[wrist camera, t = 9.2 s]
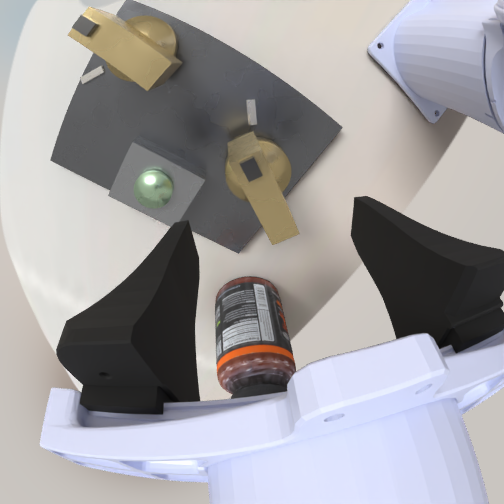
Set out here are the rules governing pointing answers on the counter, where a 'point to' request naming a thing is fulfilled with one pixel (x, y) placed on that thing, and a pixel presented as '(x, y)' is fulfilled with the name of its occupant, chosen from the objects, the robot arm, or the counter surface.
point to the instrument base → (186, 132)
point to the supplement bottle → (252, 339)
